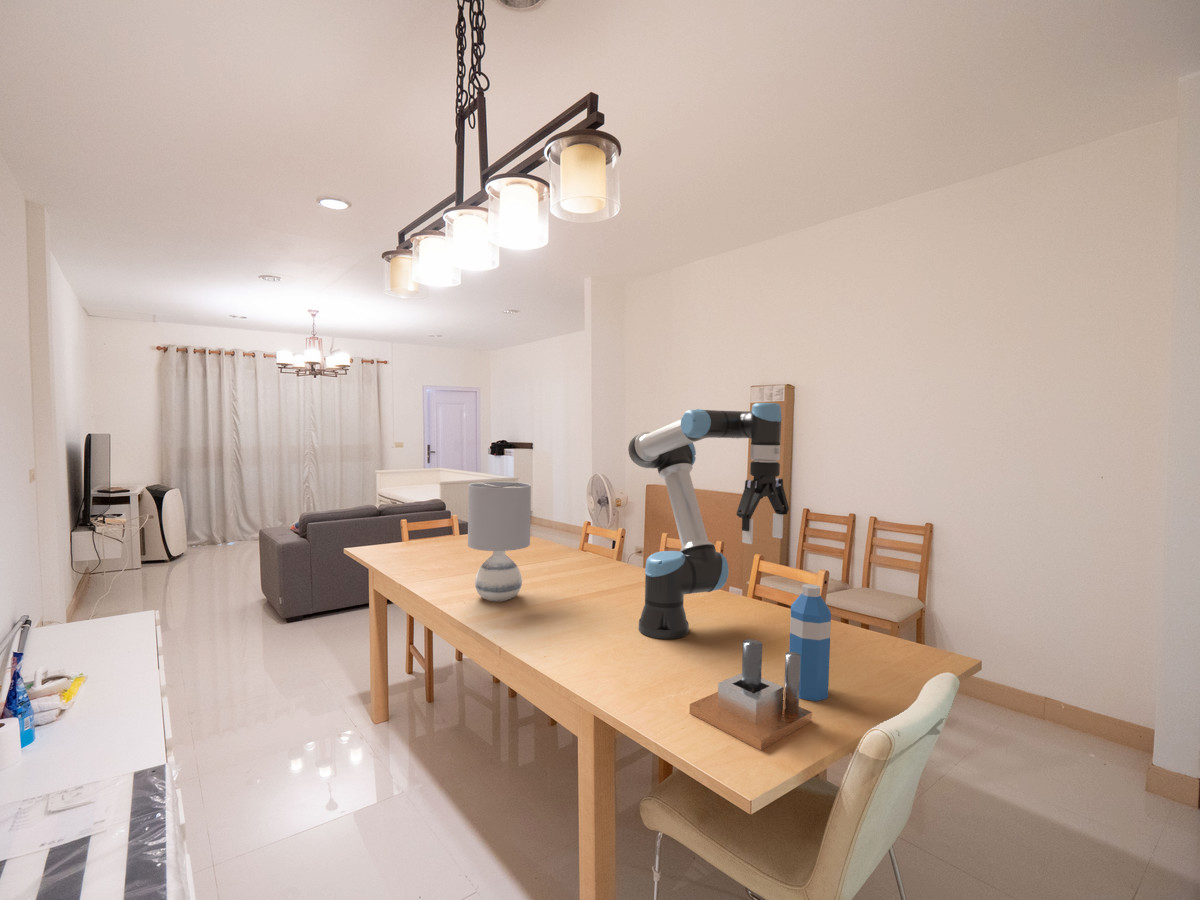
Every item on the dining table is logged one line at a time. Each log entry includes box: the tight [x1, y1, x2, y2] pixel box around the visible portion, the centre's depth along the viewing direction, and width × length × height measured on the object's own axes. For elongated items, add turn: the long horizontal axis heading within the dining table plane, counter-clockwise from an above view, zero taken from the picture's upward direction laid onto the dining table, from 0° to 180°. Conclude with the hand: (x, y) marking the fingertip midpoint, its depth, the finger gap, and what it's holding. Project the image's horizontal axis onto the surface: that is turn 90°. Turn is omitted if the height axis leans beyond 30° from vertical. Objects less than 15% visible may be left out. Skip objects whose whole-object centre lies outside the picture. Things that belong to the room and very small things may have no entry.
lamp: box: [467, 481, 532, 603], centre depth 202 cm, size 22×22×40 cm
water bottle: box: [788, 583, 832, 702], centre depth 133 cm, size 9×9×25 cm
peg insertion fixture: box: [688, 651, 813, 751], centre depth 121 cm, size 18×18×14 cm
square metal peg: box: [741, 638, 763, 693], centre depth 121 cm, size 4×4×14 cm
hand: (762, 540), depth 152 cm, fingers open, 13 cm apart
